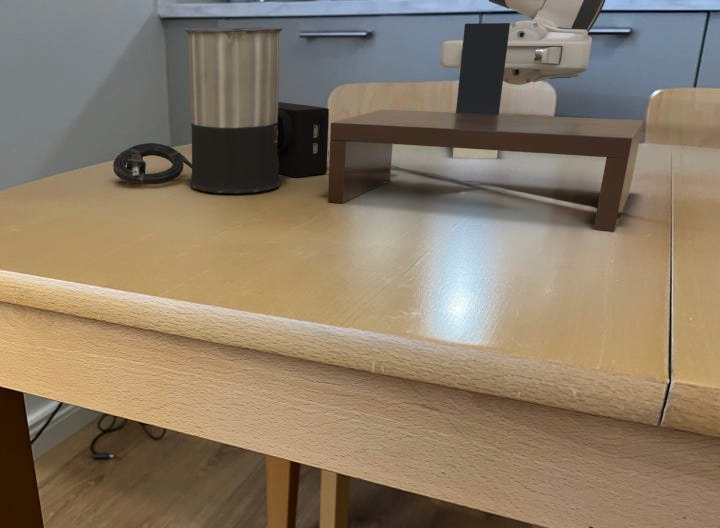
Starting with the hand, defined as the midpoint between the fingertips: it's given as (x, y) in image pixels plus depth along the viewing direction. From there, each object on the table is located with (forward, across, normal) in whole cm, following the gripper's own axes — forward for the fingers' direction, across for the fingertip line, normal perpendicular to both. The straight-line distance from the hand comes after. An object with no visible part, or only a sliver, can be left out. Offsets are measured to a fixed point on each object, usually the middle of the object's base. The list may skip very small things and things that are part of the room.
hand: (503, 56), depth 101 cm
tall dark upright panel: (+15, +1, +11) cm, 19 cm away
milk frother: (+47, -20, +11) cm, 52 cm away
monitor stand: (+42, +8, +11) cm, 44 cm away
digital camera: (+35, -16, +11) cm, 40 cm away
